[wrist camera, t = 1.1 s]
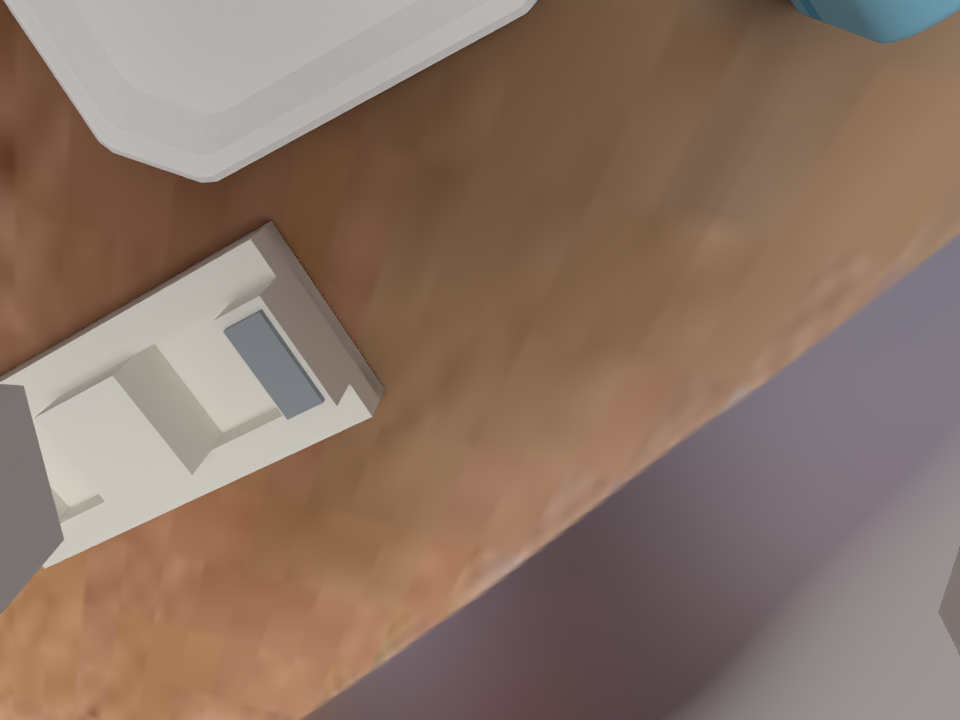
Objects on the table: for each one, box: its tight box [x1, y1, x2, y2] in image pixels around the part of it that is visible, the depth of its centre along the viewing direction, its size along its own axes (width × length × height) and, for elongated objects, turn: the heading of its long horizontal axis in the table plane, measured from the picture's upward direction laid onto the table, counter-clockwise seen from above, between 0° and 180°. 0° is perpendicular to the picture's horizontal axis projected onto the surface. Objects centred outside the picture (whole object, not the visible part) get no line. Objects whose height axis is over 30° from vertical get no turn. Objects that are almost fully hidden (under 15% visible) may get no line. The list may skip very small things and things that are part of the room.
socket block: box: [0, 221, 385, 568], centre depth 39 cm, size 9×20×5 cm, turn 120°
